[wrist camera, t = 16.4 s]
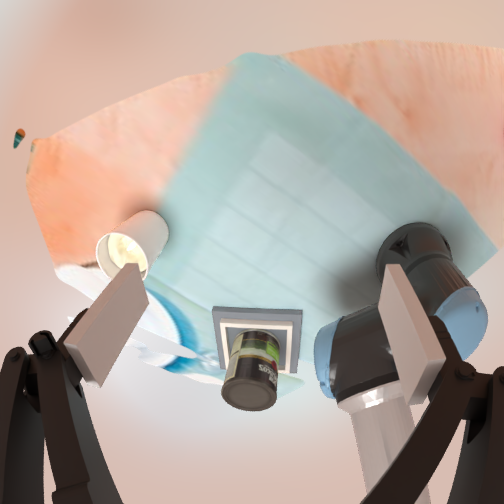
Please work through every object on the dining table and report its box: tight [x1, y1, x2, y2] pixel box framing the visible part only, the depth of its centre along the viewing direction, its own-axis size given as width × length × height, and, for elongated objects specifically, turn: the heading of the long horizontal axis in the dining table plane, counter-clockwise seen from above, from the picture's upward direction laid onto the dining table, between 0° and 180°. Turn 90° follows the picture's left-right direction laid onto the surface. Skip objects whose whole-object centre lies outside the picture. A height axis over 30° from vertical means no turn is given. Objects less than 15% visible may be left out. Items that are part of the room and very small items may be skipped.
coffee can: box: [221, 329, 280, 411], centre depth 59 cm, size 10×10×14 cm
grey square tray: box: [212, 307, 302, 373], centre depth 65 cm, size 18×18×3 cm
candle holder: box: [96, 210, 169, 281], centre depth 52 cm, size 10×10×12 cm
